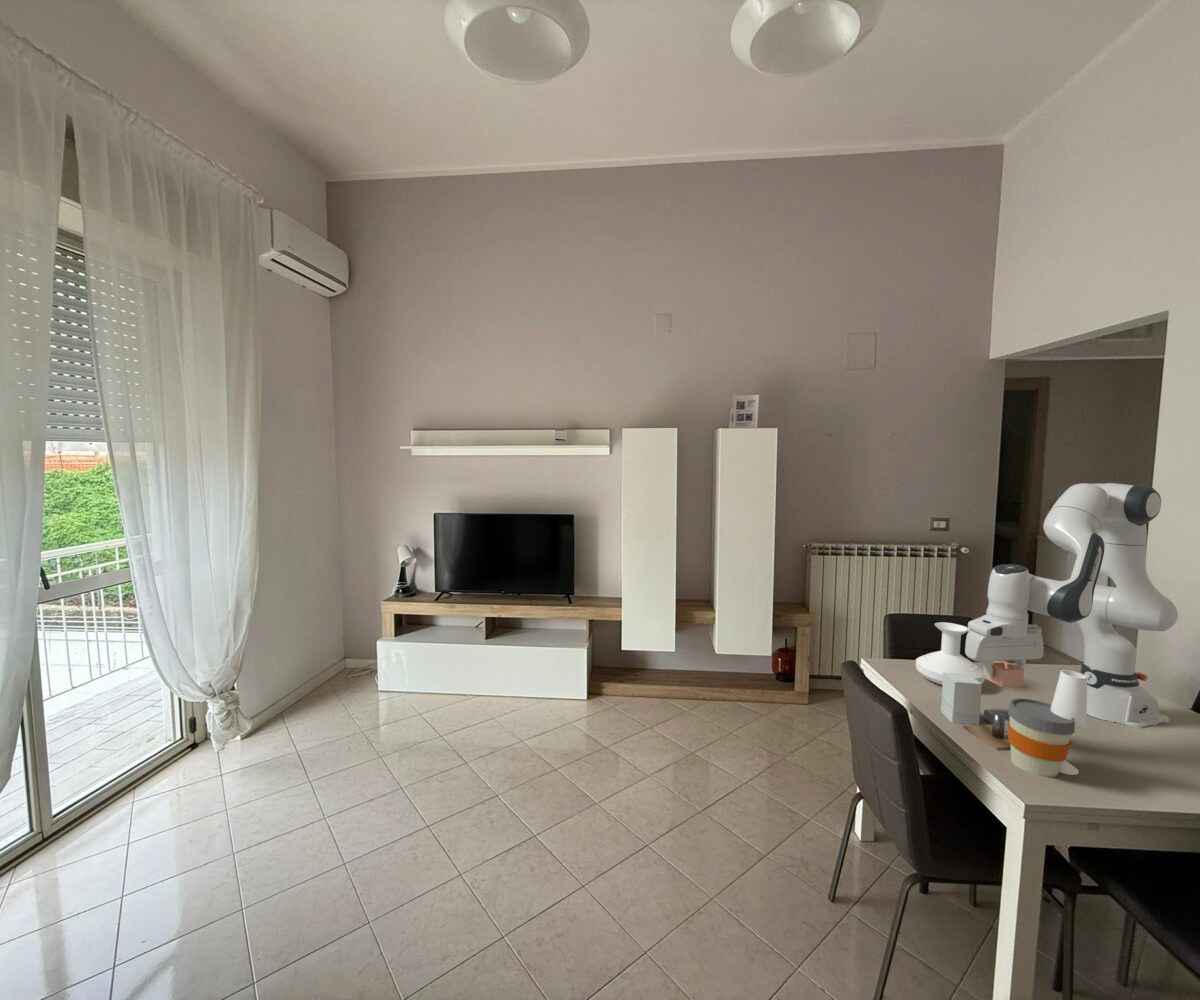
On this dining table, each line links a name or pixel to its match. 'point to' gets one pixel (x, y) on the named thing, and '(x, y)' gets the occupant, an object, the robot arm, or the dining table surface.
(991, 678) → the collar
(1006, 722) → the tray
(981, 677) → the candle holder
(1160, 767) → the dining table surface
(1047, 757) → the reusable coffee cup
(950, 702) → the supplement box
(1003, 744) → the stake board
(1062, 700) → the champagne flute
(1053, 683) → the dining table surface
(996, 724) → the cylinder
